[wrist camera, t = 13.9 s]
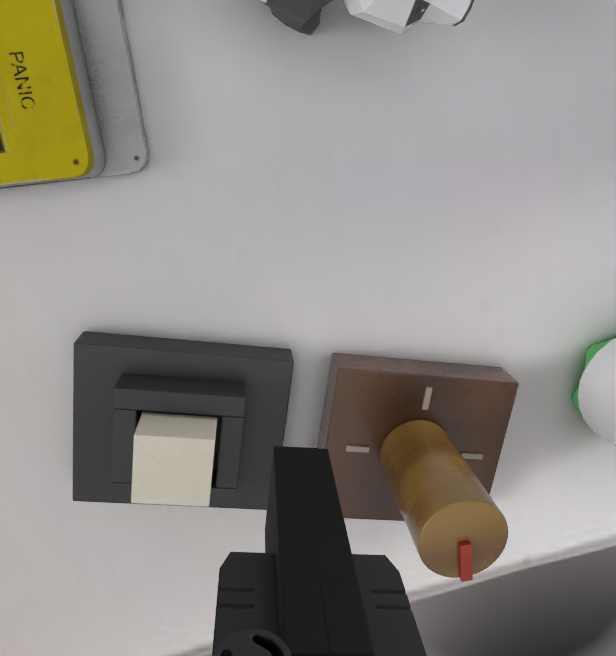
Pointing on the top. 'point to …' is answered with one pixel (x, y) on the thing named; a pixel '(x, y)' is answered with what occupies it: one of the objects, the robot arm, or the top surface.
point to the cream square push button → (173, 459)
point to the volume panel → (407, 405)
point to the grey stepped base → (177, 410)
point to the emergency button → (67, 93)
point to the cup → (599, 390)
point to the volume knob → (442, 501)
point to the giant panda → (373, 12)
